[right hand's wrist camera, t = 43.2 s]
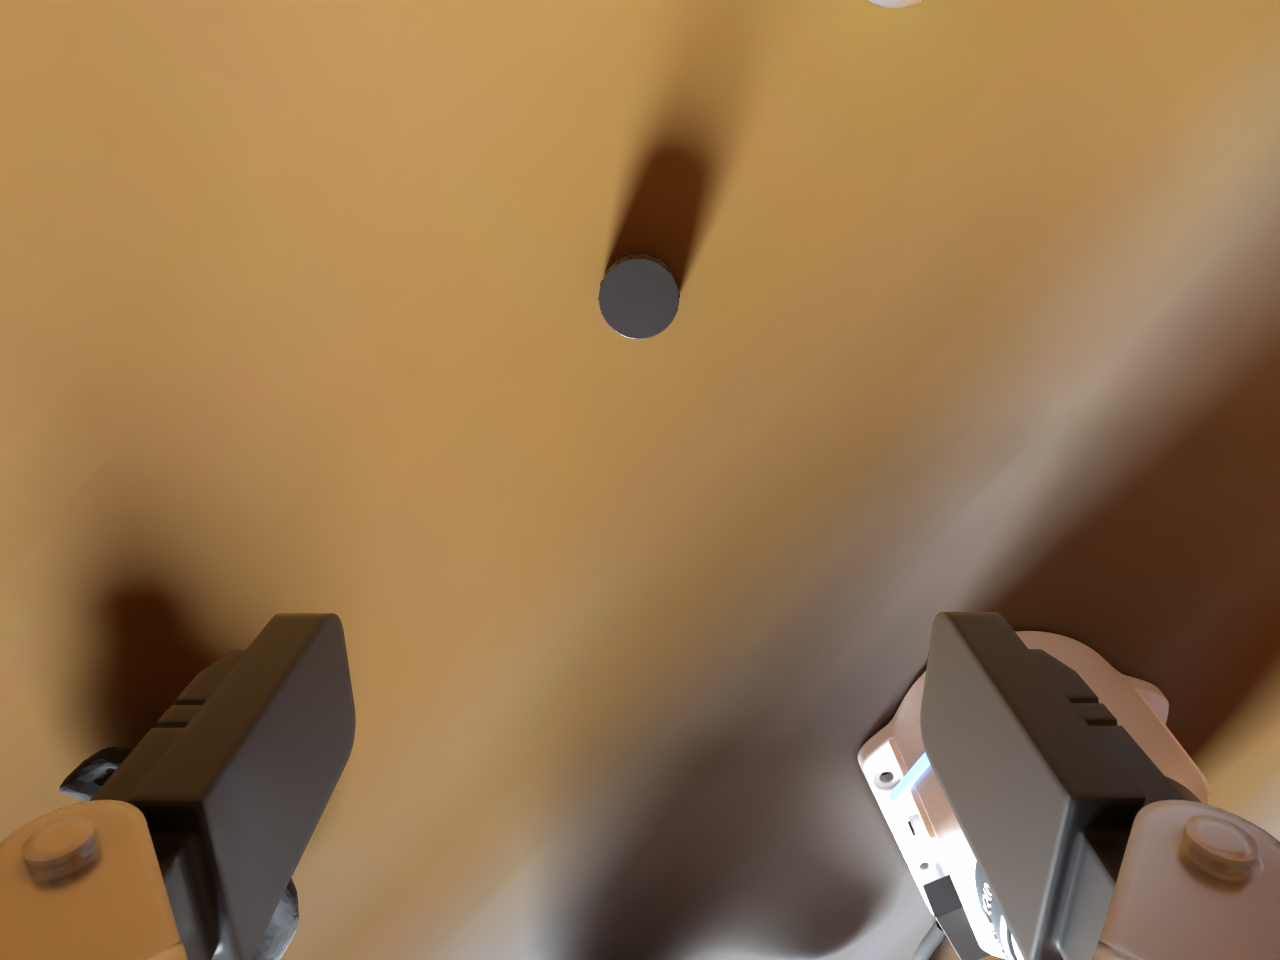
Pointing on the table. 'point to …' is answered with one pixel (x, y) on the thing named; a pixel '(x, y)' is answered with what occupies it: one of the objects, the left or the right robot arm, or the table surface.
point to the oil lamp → (97, 773)
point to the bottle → (895, 3)
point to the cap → (639, 296)
